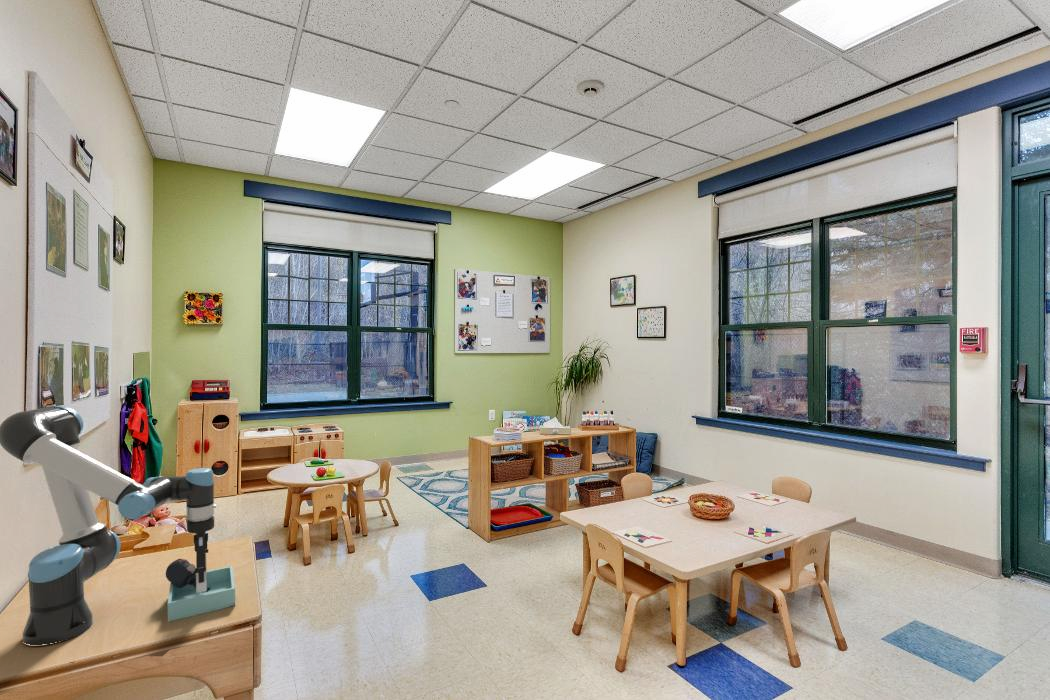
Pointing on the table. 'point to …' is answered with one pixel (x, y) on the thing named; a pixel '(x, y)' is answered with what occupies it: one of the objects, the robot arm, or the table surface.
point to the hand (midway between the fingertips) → (201, 582)
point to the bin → (203, 595)
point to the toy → (182, 573)
